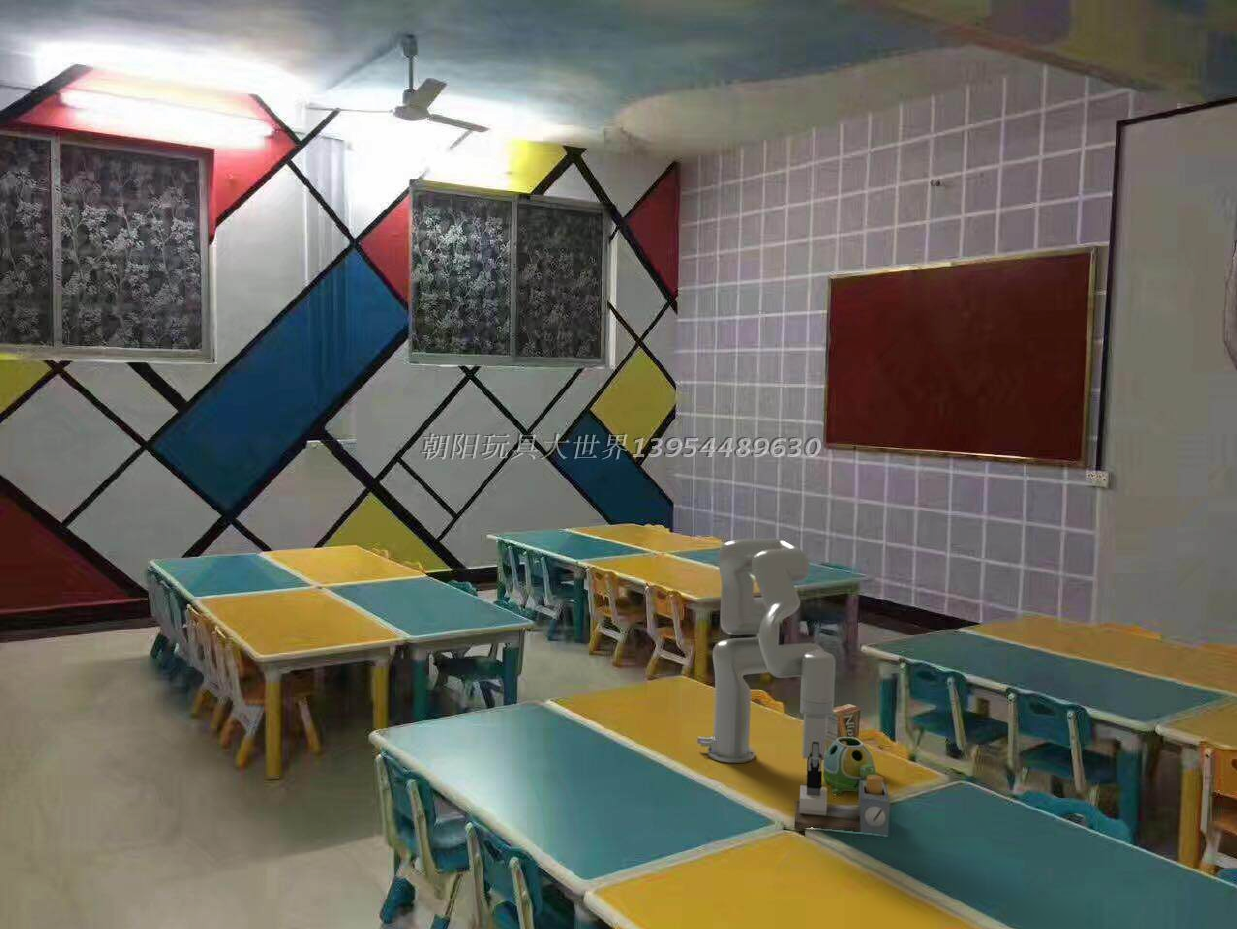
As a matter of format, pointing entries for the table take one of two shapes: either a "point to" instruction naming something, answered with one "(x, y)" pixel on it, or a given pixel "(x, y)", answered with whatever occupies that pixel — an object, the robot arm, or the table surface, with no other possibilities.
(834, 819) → the rail board
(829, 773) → the turtle holder
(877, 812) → the gauge cabinet
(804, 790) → the carriage
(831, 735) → the candy box
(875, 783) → the button
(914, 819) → the table surface
